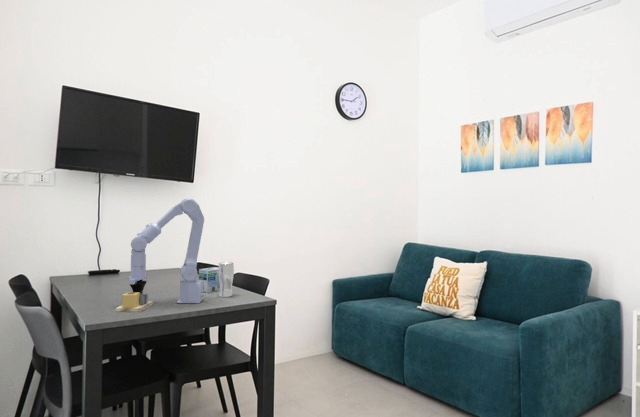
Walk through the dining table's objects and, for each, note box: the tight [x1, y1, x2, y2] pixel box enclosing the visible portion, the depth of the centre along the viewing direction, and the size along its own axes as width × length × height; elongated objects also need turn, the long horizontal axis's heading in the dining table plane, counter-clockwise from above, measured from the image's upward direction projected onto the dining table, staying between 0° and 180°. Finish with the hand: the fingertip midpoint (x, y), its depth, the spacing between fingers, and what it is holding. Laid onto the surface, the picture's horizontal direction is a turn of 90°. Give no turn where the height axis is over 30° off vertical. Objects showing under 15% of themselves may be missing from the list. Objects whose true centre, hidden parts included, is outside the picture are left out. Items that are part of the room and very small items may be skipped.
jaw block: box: [121, 291, 140, 308], centre depth 172 cm, size 5×5×5 cm
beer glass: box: [217, 261, 235, 298], centre depth 200 cm, size 7×7×15 cm
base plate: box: [114, 300, 154, 313], centre depth 175 cm, size 10×13×4 cm
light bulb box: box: [198, 266, 220, 294], centre depth 213 cm, size 11×7×11 cm, turn 147°
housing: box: [140, 292, 149, 305], centre depth 176 cm, size 9×5×4 cm, turn 94°
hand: (137, 299), depth 180 cm, fingers closed
